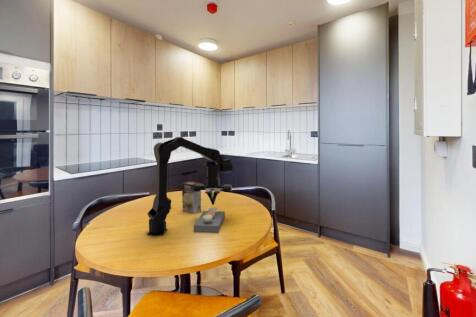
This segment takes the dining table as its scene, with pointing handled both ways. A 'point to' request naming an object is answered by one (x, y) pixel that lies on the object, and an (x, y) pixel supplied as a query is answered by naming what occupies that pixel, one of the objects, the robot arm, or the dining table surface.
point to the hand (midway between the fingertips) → (213, 204)
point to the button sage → (207, 218)
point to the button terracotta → (211, 214)
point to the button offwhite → (213, 210)
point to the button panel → (210, 223)
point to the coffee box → (191, 198)
